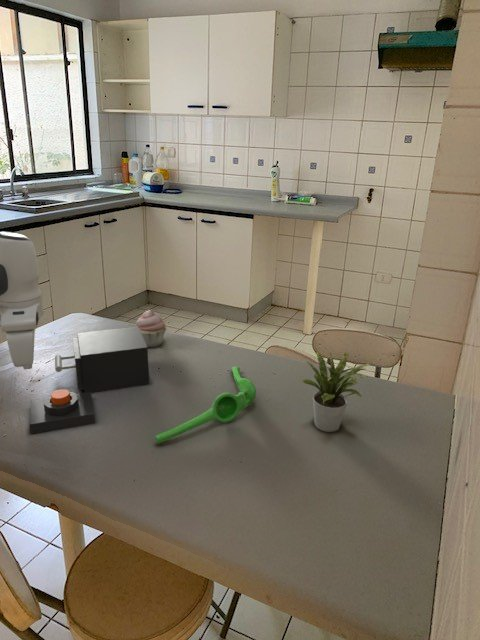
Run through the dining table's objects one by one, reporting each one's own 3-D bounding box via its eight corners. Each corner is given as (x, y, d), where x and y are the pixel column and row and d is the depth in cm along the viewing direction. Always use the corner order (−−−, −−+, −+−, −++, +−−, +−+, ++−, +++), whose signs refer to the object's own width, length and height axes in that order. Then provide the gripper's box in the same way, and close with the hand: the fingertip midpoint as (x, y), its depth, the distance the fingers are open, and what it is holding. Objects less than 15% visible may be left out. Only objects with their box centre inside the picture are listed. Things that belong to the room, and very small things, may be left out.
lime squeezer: (232, 371, 116) (233, 348, 114) (276, 382, 112) (277, 359, 109) (152, 444, 88) (151, 416, 86) (207, 464, 84) (207, 435, 81)
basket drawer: (57, 392, 102) (53, 361, 99) (56, 369, 112) (53, 340, 109) (138, 380, 108) (137, 350, 106) (131, 359, 118) (129, 331, 115)
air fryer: (84, 393, 104) (80, 355, 100) (81, 368, 115) (77, 332, 111) (149, 383, 109) (147, 347, 105) (140, 360, 120) (138, 326, 116)
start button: (51, 407, 92) (50, 399, 92) (51, 398, 95) (50, 390, 95) (70, 404, 94) (69, 396, 93) (70, 395, 97) (69, 387, 96)
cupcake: (162, 351, 125) (161, 317, 121) (129, 348, 126) (127, 314, 122) (172, 337, 134) (171, 305, 130) (141, 334, 135) (139, 302, 131)
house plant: (364, 455, 87) (377, 380, 81) (291, 443, 90) (298, 369, 84) (363, 414, 100) (374, 346, 94) (299, 404, 103) (306, 338, 97)
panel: (30, 434, 90) (28, 416, 88) (32, 409, 98) (29, 393, 96) (95, 422, 94) (93, 406, 93) (91, 400, 102) (89, 384, 100)
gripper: (7, 294, 106) (15, 348, 111) (-1, 327, 89) (9, 390, 94) (37, 292, 109) (43, 345, 114) (35, 324, 91) (42, 386, 96)
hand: (28, 366), depth 104 cm, fingers closed
